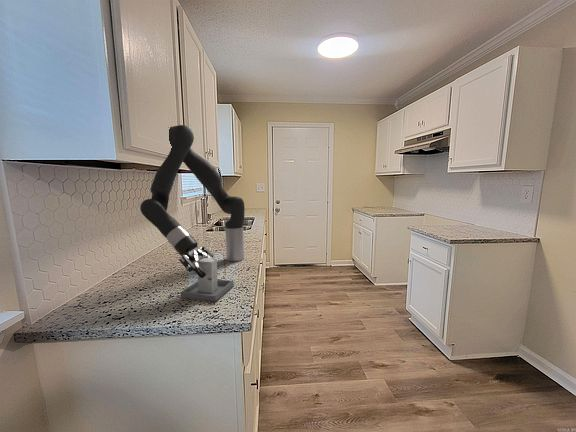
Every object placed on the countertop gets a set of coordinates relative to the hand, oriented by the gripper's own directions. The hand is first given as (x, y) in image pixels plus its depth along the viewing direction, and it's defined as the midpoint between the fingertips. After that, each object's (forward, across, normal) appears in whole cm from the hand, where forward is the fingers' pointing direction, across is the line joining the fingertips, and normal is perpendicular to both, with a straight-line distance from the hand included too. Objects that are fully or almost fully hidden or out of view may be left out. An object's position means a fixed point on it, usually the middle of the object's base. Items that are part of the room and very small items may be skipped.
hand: (210, 272), depth 98 cm
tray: (+5, 0, +7) cm, 8 cm away
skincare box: (+4, 0, +6) cm, 8 cm away
